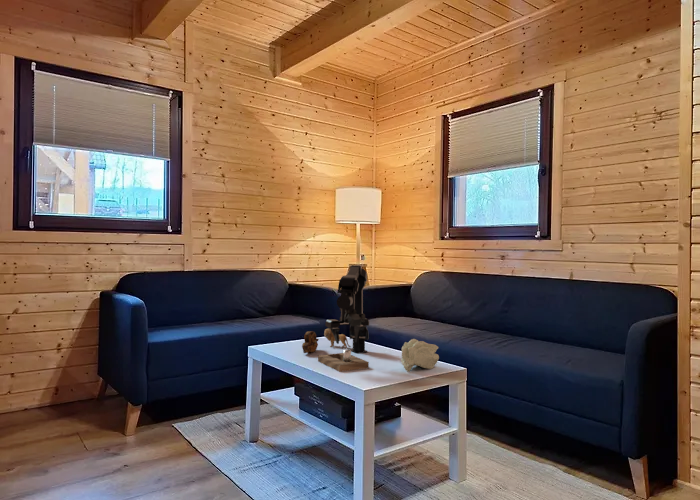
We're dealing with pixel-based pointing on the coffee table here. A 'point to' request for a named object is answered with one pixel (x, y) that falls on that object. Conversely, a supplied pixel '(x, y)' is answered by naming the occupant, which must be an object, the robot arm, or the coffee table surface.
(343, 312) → the robot arm
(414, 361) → the folded clay sculpture
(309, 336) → the wooden carving
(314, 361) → the coffee table surface
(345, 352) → the steel peg
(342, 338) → the lion figurine
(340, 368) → the keyhole plate
